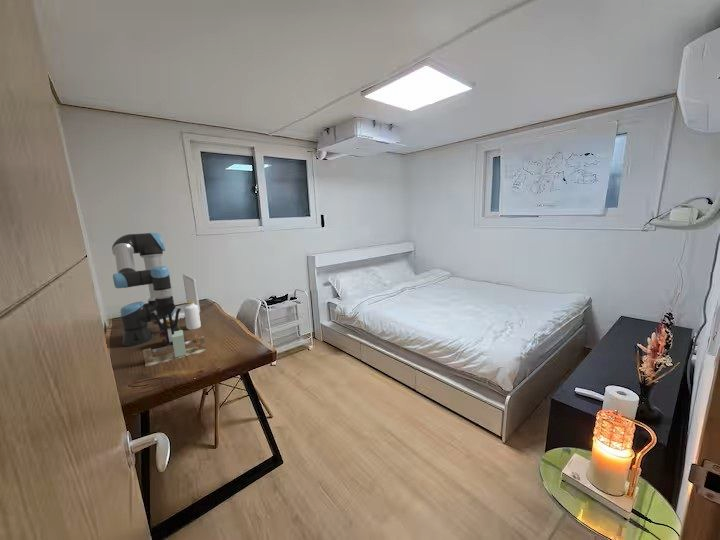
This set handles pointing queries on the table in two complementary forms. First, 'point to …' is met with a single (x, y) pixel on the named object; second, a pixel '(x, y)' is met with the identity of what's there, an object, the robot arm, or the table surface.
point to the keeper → (178, 343)
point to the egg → (166, 338)
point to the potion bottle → (192, 316)
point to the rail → (171, 356)
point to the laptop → (187, 295)
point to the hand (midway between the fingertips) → (171, 340)
